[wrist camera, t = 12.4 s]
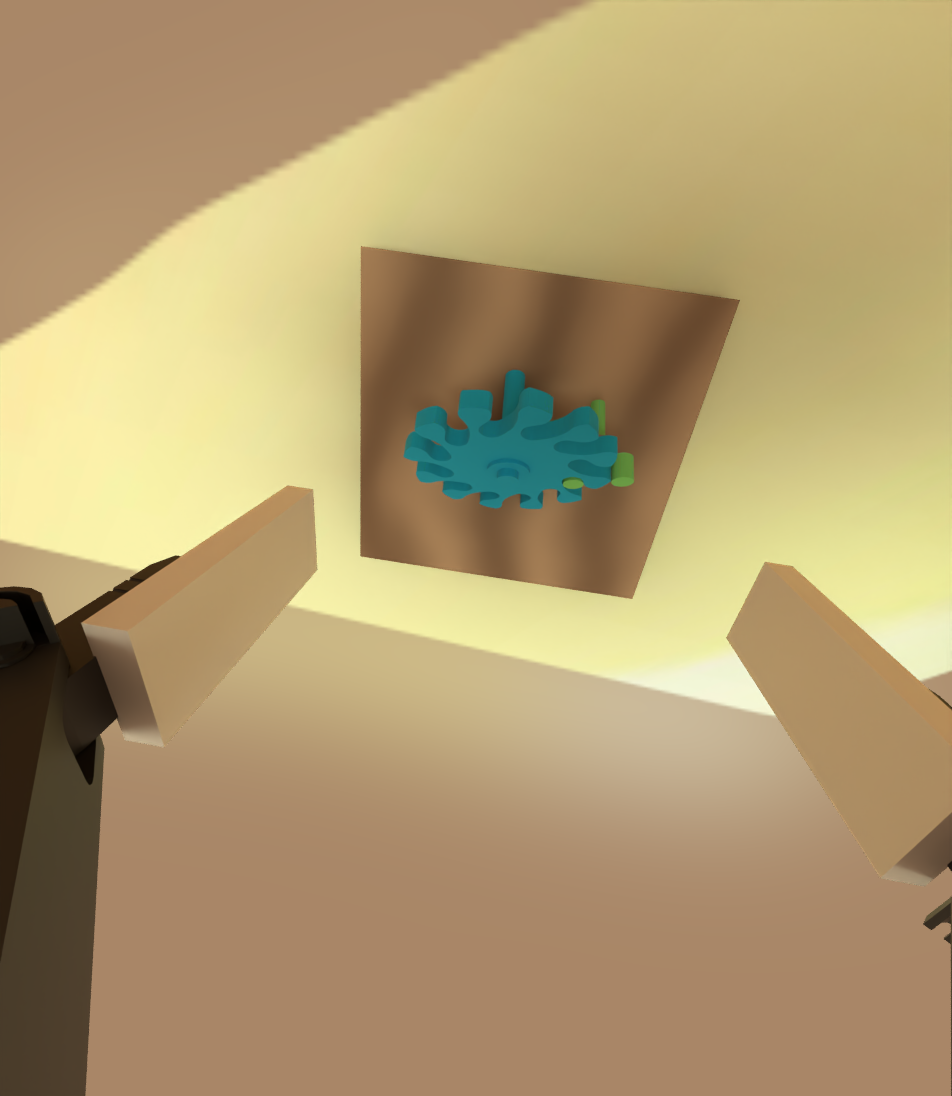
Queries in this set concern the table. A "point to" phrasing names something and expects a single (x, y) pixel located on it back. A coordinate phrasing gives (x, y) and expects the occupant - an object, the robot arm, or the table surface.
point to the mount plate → (548, 364)
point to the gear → (517, 448)
